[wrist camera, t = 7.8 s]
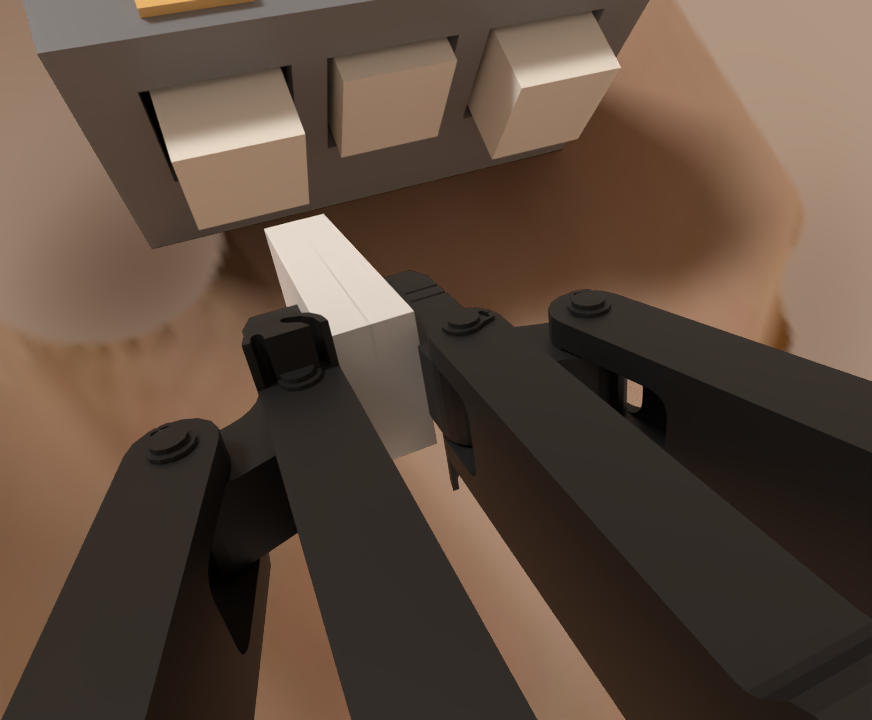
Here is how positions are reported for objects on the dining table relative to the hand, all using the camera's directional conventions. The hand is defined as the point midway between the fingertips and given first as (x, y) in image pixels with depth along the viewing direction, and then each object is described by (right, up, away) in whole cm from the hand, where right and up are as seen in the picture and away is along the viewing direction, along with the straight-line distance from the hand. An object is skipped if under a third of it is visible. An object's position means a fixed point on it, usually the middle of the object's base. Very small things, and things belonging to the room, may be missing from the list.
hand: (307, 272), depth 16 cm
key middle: (0, +10, +16) cm, 19 cm away
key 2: (+8, +11, +17) cm, 22 cm away
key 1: (-6, +6, +14) cm, 16 cm away
